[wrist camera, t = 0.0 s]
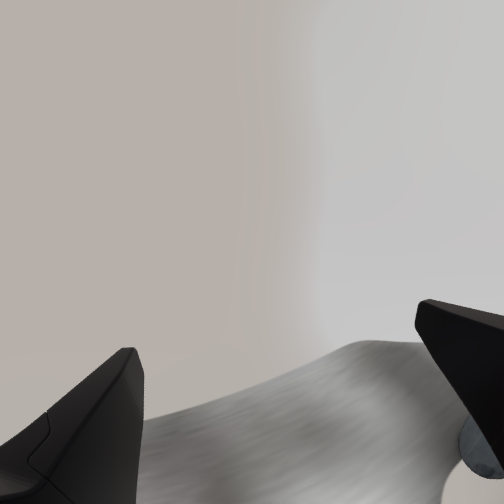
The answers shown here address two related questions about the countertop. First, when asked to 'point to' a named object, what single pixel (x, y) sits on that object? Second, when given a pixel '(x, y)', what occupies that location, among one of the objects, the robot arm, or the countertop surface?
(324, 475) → the countertop surface
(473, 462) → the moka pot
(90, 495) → the robot arm
